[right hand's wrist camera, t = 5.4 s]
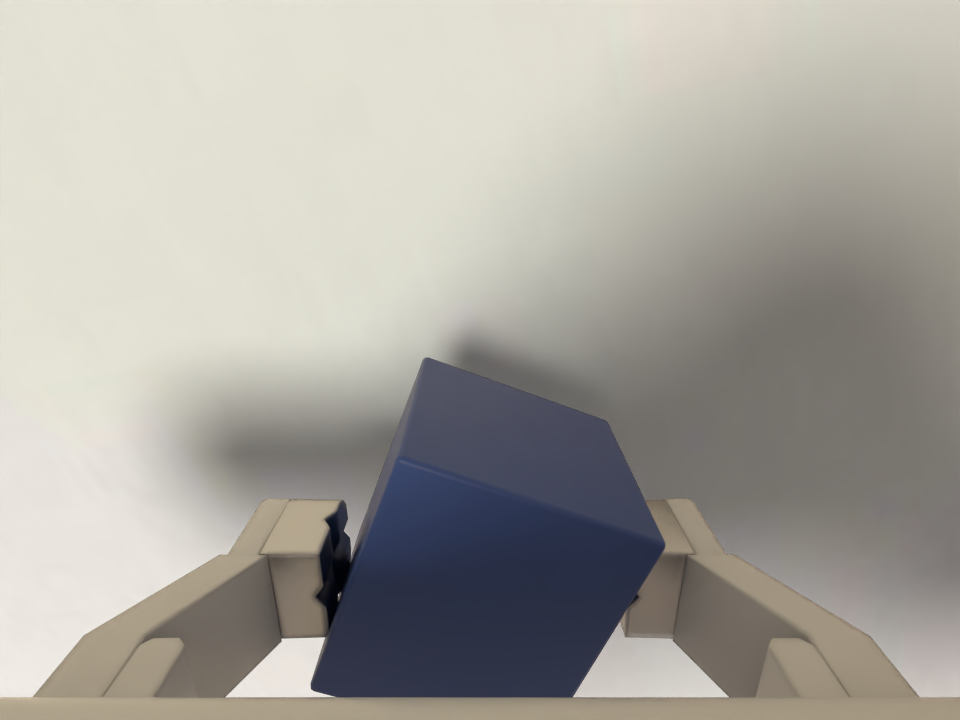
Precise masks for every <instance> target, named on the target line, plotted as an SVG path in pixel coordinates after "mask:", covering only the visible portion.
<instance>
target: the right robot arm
mask: <svg viewBox="0 0 960 720" xmlns="http://www.w3.org/2000/svg"><path fill="white" fill-rule="evenodd" d="M645 501H646V503H647V506H648V508H649V510H650V512H651V514H652V516H653V518H654V520H655V522H656V524H657V526H658V528H659V531H660V533H661V535H662V537H663V539H664V541H665V549H664V551H663V553H662V554H661V556H660V557H659V559H658V561H657V562H656V564H655V565H654V567H653V569H652V570H651V572H650V573H649V575H648V577H647V578H646V580H645V581H644V583H643V585H642V586H641V588H640V590H639V591H638V593H637V594H636V596H635V598H634V599H633V601H632V602H631V604H630V606H629V607H628V609H627V610H626V612H625V614H624V615H623V617H622V618H621V620H620V622H621V626H622V629H623V632H624V635H625V637H639V638H673V641H674V642H675V643H676V644H677V645H678V646H679V647H680V648H681V649H682V650H683V651H684V652H685V653H686V654H687V655H688V656H689V657H690V658H691V659H692V660H693V661H694V662H695V663H696V664H697V665H698V666H699V667H700V668H701V669H702V670H703V671H704V672H705V673H706V674H707V675H708V676H709V677H710V678H711V679H712V680H713V681H714V682H715V683H716V684H717V685H718V686H719V687H720V688H721V689H722V690H723V691H724V692H725V693H726V694H727V695H728V696H729V697H730V698H558V697H261V698H225V697H226V696H227V695H228V694H229V693H230V692H231V691H232V690H233V689H234V688H235V687H236V686H237V685H238V684H239V683H240V682H241V681H242V680H243V679H244V678H245V677H246V676H247V675H248V674H249V673H250V672H251V671H252V670H253V669H254V668H255V667H256V666H257V665H258V664H259V663H260V662H261V661H262V660H263V659H264V658H265V657H266V656H267V655H268V654H269V653H270V652H271V651H272V650H273V649H274V648H275V647H276V646H277V645H278V644H279V643H280V642H281V638H314V637H327V635H328V633H329V630H330V627H331V624H332V620H333V617H334V614H335V611H336V608H337V605H338V594H339V593H340V592H341V591H342V588H343V585H344V582H345V579H346V576H347V573H348V570H349V567H350V563H351V545H350V537H349V536H348V535H347V534H346V533H345V532H344V528H345V525H346V523H347V520H348V516H347V509H346V504H345V502H344V501H343V500H316V499H292V500H291V499H266V500H264V501H262V502H261V503H260V505H259V506H258V508H257V510H256V511H255V513H254V514H253V516H252V517H251V519H250V521H249V522H248V524H247V525H246V527H245V528H244V530H243V532H242V533H241V535H240V536H239V538H238V539H237V541H236V543H235V544H234V546H233V547H232V549H231V550H230V552H229V554H228V555H219V556H217V557H215V558H213V559H212V560H210V561H208V562H207V563H205V564H203V565H202V566H200V567H198V568H197V569H195V570H193V571H192V572H190V573H188V574H187V575H185V576H183V577H182V578H180V579H178V580H176V581H175V582H173V583H171V584H170V585H168V586H166V587H165V588H163V589H161V590H160V591H158V592H156V593H155V594H153V595H151V596H150V597H148V598H146V599H144V600H143V601H141V602H139V603H138V604H136V605H134V606H133V607H131V608H129V609H128V610H126V611H124V612H123V613H121V614H119V615H118V616H116V617H114V618H113V619H111V620H109V621H107V622H106V623H104V624H102V625H101V626H99V627H97V628H96V629H94V630H92V631H91V632H89V633H87V634H86V635H84V636H83V637H82V638H81V640H80V641H79V642H78V643H77V644H76V646H75V647H74V648H73V649H72V650H71V652H70V653H69V654H68V655H67V656H66V658H65V659H64V660H63V661H62V662H61V664H60V665H59V666H58V667H57V668H56V670H55V671H54V672H53V673H52V674H51V676H50V677H49V678H48V679H47V680H46V682H45V683H44V684H43V685H42V687H41V688H40V689H39V690H38V691H37V693H36V694H35V695H34V696H33V697H0V720H960V697H919V696H918V695H917V694H916V692H915V691H914V690H913V689H912V687H911V686H910V685H909V684H908V682H907V681H906V680H905V679H904V677H903V676H902V675H901V674H900V673H899V671H898V670H897V669H896V668H895V666H894V665H893V664H892V663H891V661H890V660H889V659H888V658H887V656H886V655H885V654H884V653H883V652H882V650H881V649H880V648H879V647H878V645H877V644H876V643H875V642H874V640H873V639H872V638H871V637H870V636H869V635H867V634H865V633H864V632H862V631H860V630H859V629H857V628H855V627H854V626H852V625H850V624H849V623H847V622H845V621H844V620H842V619H840V618H839V617H837V616H835V615H834V614H832V613H830V612H829V611H827V610H825V609H824V608H822V607H821V606H819V605H817V604H816V603H814V602H812V601H811V600H809V599H807V598H806V597H804V596H802V595H801V594H799V593H797V592H796V591H794V590H792V589H791V588H789V587H787V586H786V585H784V584H782V583H781V582H779V581H777V580H776V579H774V578H772V577H771V576H769V575H767V574H766V573H764V572H762V571H761V570H759V569H757V568H756V567H754V566H752V565H751V564H749V563H747V562H746V561H744V560H742V559H741V558H739V557H737V556H736V555H726V553H725V551H724V550H723V548H722V547H721V545H720V543H719V542H718V540H717V539H716V537H715V536H714V534H713V532H712V531H711V529H710V528H709V526H708V524H707V523H706V521H705V520H704V518H703V516H702V515H701V513H700V512H699V510H698V509H697V507H696V505H695V504H694V502H693V501H692V500H690V499H663V500H645Z"/></svg>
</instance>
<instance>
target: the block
mask: <svg viewBox="0 0 960 720" xmlns="http://www.w3.org/2000/svg"><path fill="white" fill-rule="evenodd" d="M664 549H665V541H664V539H663V537H662V535H661V533H660V531H659V528H658V526H657V524H656V522H655V520H654V518H653V516H652V514H651V512H650V510H649V508H648V506H647V503H646V501H645V499H644V497H643V495H642V493H641V491H640V489H639V487H638V485H637V483H636V481H635V478H634V476H633V474H632V472H631V470H630V468H629V466H628V464H627V462H626V460H625V458H624V456H623V453H622V451H621V449H620V447H619V445H618V443H617V441H616V439H615V437H614V435H613V433H612V431H611V428H610V426H609V424H608V422H607V421H605V420H603V419H600V418H597V417H594V416H591V415H588V414H586V413H583V412H580V411H577V410H574V409H572V408H569V407H566V406H563V405H560V404H557V403H555V402H552V401H549V400H546V399H543V398H541V397H538V396H535V395H532V394H529V393H527V392H524V391H521V390H518V389H515V388H512V387H510V386H507V385H504V384H501V383H498V382H496V381H493V380H490V379H487V378H484V377H481V376H479V375H476V374H473V373H470V372H467V371H465V370H462V369H459V368H456V367H453V366H450V365H448V364H445V363H442V362H439V361H436V360H434V359H431V358H424V359H423V361H422V364H421V367H420V369H419V372H418V375H417V377H416V380H415V383H414V385H413V388H412V391H411V394H410V396H409V399H408V402H407V404H406V407H405V410H404V412H403V415H402V418H401V420H400V423H399V426H398V429H397V431H396V434H395V437H394V439H393V442H392V445H391V447H390V450H389V453H388V456H387V458H386V461H385V464H384V466H383V469H382V472H381V474H380V477H379V480H378V483H377V485H376V488H375V491H374V493H373V496H372V499H371V501H370V504H369V507H368V510H367V512H366V515H365V518H364V520H363V523H362V526H361V528H360V531H359V534H358V537H357V540H356V543H355V546H354V550H353V553H352V556H351V563H350V567H349V570H348V573H347V576H346V579H345V582H344V585H343V588H342V591H341V592H340V593H339V596H338V605H337V608H336V611H335V614H334V617H333V620H332V624H331V627H330V630H329V633H328V635H327V637H325V640H324V643H323V647H322V650H321V653H320V656H319V659H318V662H317V665H316V668H315V672H314V675H313V678H312V681H311V689H312V690H313V691H316V692H319V693H323V694H327V695H331V696H335V697H558V698H572V697H573V696H574V694H575V692H576V691H577V689H578V688H579V686H580V684H581V683H582V681H583V680H584V678H585V676H586V675H587V673H588V672H589V670H590V668H591V667H592V665H593V663H594V662H595V660H596V659H597V657H598V655H599V654H600V652H601V651H602V649H603V647H604V646H605V644H606V643H607V641H608V639H609V638H610V636H611V635H612V633H613V631H614V630H615V628H616V626H617V625H618V623H619V622H620V620H621V618H622V617H623V615H624V614H625V612H626V610H627V609H628V607H629V606H630V604H631V602H632V601H633V599H634V598H635V596H636V594H637V593H638V591H639V590H640V588H641V586H642V585H643V583H644V581H645V580H646V578H647V577H648V575H649V573H650V572H651V570H652V569H653V567H654V565H655V564H656V562H657V561H658V559H659V557H660V556H661V554H662V553H663V551H664Z"/></svg>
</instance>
